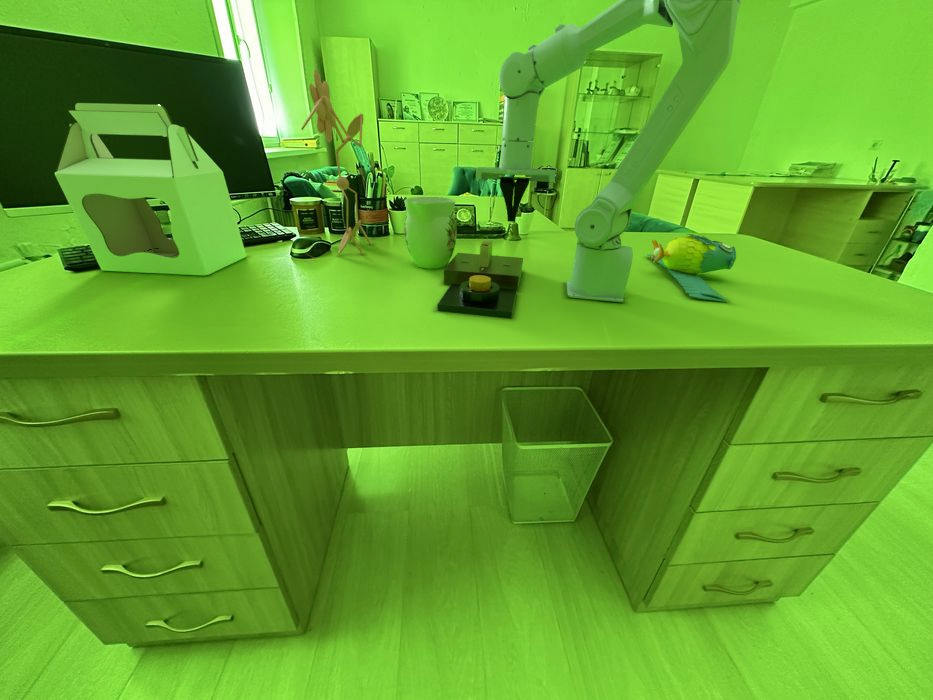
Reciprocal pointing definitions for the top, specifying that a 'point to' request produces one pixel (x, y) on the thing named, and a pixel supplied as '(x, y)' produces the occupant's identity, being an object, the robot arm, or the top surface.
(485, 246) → the tan block
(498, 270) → the panel
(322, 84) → the figurine
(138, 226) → the gable box
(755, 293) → the top surface
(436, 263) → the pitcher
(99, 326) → the top surface
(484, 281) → the button
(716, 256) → the toy bird
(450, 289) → the button box
